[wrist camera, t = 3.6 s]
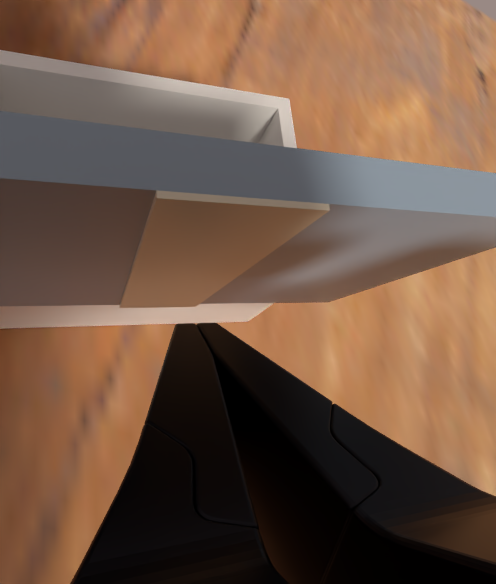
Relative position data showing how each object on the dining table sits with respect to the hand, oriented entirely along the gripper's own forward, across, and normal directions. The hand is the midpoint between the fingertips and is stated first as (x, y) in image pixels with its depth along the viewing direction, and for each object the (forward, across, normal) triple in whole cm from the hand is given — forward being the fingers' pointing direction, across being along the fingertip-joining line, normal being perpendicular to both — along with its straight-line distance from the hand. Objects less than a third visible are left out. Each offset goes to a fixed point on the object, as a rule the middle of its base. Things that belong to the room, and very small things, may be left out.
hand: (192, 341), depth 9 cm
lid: (+2, 0, -2) cm, 2 cm away
